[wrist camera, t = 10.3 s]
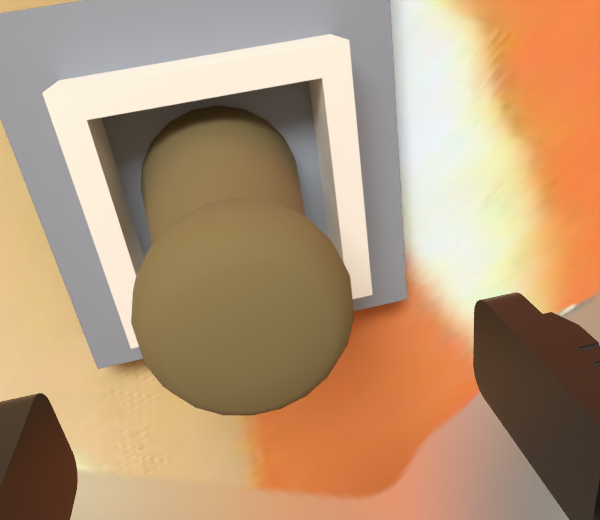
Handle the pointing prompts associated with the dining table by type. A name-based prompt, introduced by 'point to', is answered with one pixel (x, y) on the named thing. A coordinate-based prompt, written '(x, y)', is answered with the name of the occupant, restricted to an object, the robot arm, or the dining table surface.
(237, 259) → the olive brown knobbed peg
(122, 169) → the board
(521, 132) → the dining table surface
